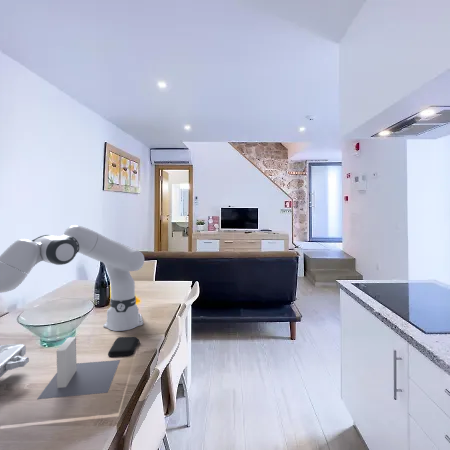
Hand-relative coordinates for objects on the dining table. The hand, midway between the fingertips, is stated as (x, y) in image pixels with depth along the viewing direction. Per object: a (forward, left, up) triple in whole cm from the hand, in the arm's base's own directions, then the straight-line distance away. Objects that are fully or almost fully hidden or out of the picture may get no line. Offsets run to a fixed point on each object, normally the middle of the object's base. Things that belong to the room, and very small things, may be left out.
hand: (26, 361), depth 95 cm
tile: (0, +12, -7) cm, 14 cm away
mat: (0, +17, -7) cm, 19 cm away
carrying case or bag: (-20, +28, -8) cm, 35 cm away
